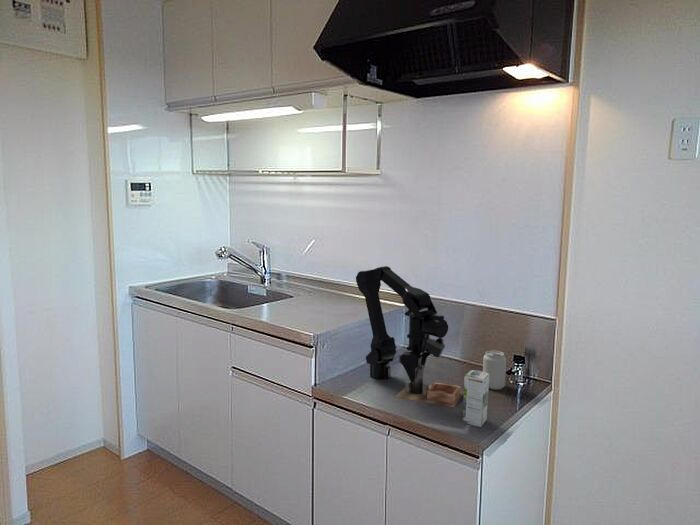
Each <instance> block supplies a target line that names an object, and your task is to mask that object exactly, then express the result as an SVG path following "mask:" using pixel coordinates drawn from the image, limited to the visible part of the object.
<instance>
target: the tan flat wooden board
mask: <svg viewBox="0 0 700 525" xmlns="http://www.w3.org/2000/svg"><path fill="white" fill-rule="evenodd" d="M463 395H464V390H461V386H460V385H459V386H458V385H454V384H453V385H452V384H447V383H441V382H440V383H439V382H434V383H433V384H432V385H430V384H429V382H424V383H423V392H422V394H413V393H412V392H411V381H410V379H408V380H407V381H405V387H404V388H402V390H401V391H399V392H398V394H396V396H395V398H397V399H398V398H400V399H405V400H411V401H416V402H422V403H426V404H432V405H437V406H444V407H448V408H449V407H450V408H455V406H456V405H457V404H458V402H459V400H460V399H461V397H462V396H463Z"/></svg>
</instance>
